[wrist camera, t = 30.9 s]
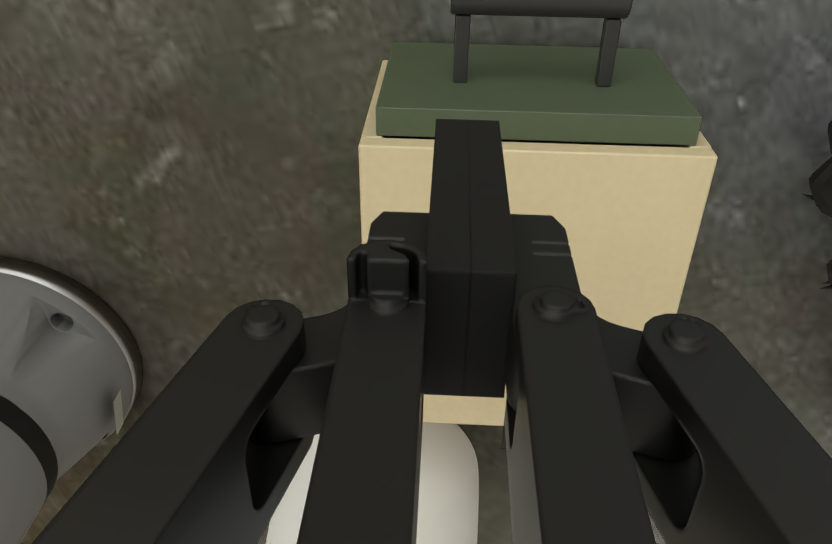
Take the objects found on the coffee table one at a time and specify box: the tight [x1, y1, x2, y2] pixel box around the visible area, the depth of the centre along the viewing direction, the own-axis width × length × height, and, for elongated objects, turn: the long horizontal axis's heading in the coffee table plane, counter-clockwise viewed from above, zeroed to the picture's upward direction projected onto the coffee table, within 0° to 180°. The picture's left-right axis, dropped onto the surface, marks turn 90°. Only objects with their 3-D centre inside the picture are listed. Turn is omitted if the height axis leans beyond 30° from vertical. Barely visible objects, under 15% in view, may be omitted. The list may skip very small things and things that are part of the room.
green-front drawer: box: [375, 0, 703, 146], centre depth 34 cm, size 18×12×9 cm
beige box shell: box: [358, 60, 718, 426], centre depth 36 cm, size 15×14×11 cm
